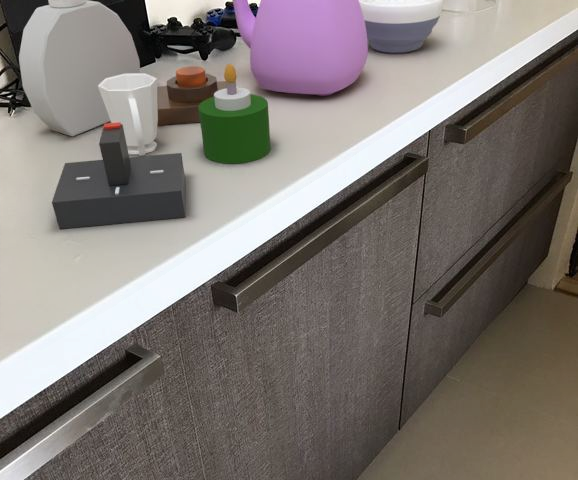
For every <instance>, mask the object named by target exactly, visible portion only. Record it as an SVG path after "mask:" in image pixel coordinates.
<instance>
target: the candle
mask: <svg viewBox="0 0 578 480" xmlns="http://www.w3.org/2000/svg"><path fill="white" fill-rule="evenodd" d="M223 76H224V81H226V84H227V88H226V89H221V90H219V91H217V92H215V93H214V97H211V98H209V99H206V100H204V101H203V102H201V103H200V104H199V107H198V108H199V116H200V122H199V123H200V132H201V138H202V146H203V152H204V156H205V158H207V159H208V160H209V161H212V162H216V163H220V164H234V165H235V164H246V163H250V162H254V161H257V160H261V159H262V158H264V157H266V156H267V155H268V154H269V153H270V151H271V133H270V118H269V117H270V116H269V102H268V100H267V99H266V98H265V97H263V96H261V95H257V94H253V93H251V91H250V90H249V89H248V88H245V87H237V77H238V76H237V71H236V68H235V67H234V65H233V64H232V63H228V64H227V65H226V67H225V69H224V73H223Z"/></svg>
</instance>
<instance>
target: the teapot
mask: <svg viewBox="0 0 578 480" xmlns="http://www.w3.org/2000/svg"><path fill="white" fill-rule="evenodd" d="M231 1H232V4H233V9H234V15H235V20H236V25H237V30H238V32H239V35H240V37H241V39H242V41H243V43H244V44H245V45H246V46H247V47H248V49H250V50H249V51H250V52H249V53H250V54H249V55H250V56H249V64H250V71H251V74H252V76H253V78H254V80H255V81H256V83H257V84H258V86H259V87H260V88H261V89H263V90H267V91H272V92H276V93H288V94H301V95H316V96H319V97H327V96H331V95H333V94H334V93H336V92H339V91H341V90H343V89H346V88H347V87H349V86H350V85H352V84H353V83H355V82H356V81H357V80H358V78H359V76H360V75H361V73H362V72H363V69H364V68H365V65H366V63H367V60H368V56H369V55H368V54H369V53H368V52H369V50H368V49H369V48H368V47H369V45H368V39H367V33H366V26H365V21H364V17H363V13H362V9H361V6H360V3H359V0H260V2H259V5H258V8H257V12H256V16H255V15H254V13H253V12H252V10H251V7H250V4H249V1H248V0H231Z"/></svg>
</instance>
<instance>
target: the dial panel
mask: <svg viewBox="0 0 578 480" xmlns="http://www.w3.org/2000/svg"><path fill="white" fill-rule="evenodd" d="M129 158H130V163H131V167H130V174H129V180H128V184H124V185H113V186H109V184H108V180H107V176H106V171H105V167H104V163H103V159H95V160H86V161H85V160H84V161H73V162H65V163H64V164H63V167H62V171H61V174H60V177H59V180H58V183H57V186H56V189H55V191H54V194H53V197H52V201H51V205H52V208H53V211H54V215H55V218H56V222H57V225H58V228H59V230H63V229H65V230H66V229H74V228H75V229H76V228H85V227H96V226H107V225H116V224H117V225H119V224H127V223H128V224H129V223H138V222H140V223H141V222H150V221H159V220H171V219H182V218H183V219H184V218H186V173H185V168H184V160H183V153H182V152H175V153H163V154H154V155H153V154H152V155H145V156H129Z"/></svg>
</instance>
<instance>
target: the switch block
mask: <svg viewBox="0 0 578 480" xmlns="http://www.w3.org/2000/svg"><path fill="white" fill-rule="evenodd" d="M205 75H206V83H204V84H201V85H197V86H179V85H177V78H176V76H173V77H171V78H169V79H168V80H166V85H161V86H160V85H157V108H158V123H157V127H159V126H160V127H161V126H172V125H181V124H184V125H185V124H195V123H200V116H199V108H198V107H199V104H200V103H201V102H203V101H204V100H206V99H209V98H211V97H214V93H215V92H217V91H219V90H221V89H226V88H227V84H226V81H225V80H222V81H221V80H220V81H218V79H217V76H215V75H212V74H209V73H205Z"/></svg>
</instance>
